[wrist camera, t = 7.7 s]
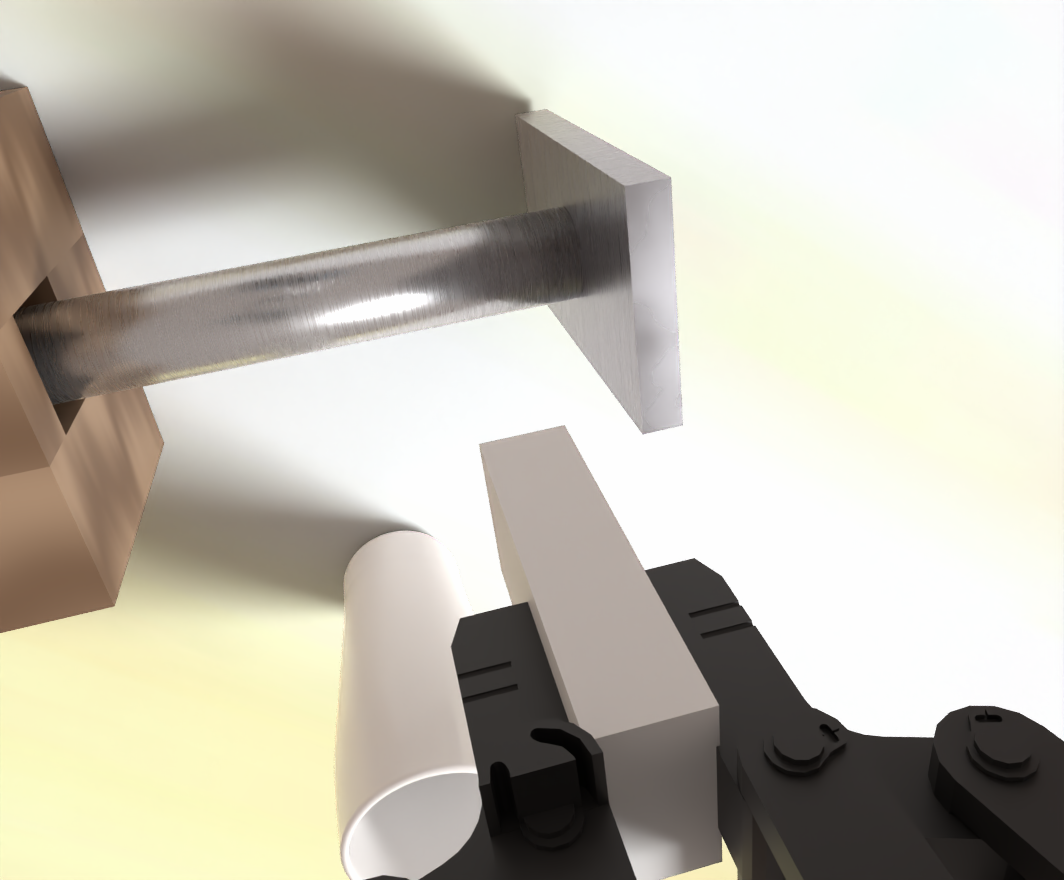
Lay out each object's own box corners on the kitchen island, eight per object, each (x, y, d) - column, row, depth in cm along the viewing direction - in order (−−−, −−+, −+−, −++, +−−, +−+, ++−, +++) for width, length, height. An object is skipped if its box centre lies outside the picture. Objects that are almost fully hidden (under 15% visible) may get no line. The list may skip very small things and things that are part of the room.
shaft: (-147, 228, 30) (-424, 381, 18) (546, 109, 33) (671, 177, 22) (-54, 410, 33) (-238, 634, 22) (566, 286, 36) (682, 425, 25)
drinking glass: (405, 650, 44) (447, 933, 31) (296, 584, 41) (291, 869, 28) (500, 560, 42) (584, 815, 30) (394, 485, 39) (438, 734, 26)
